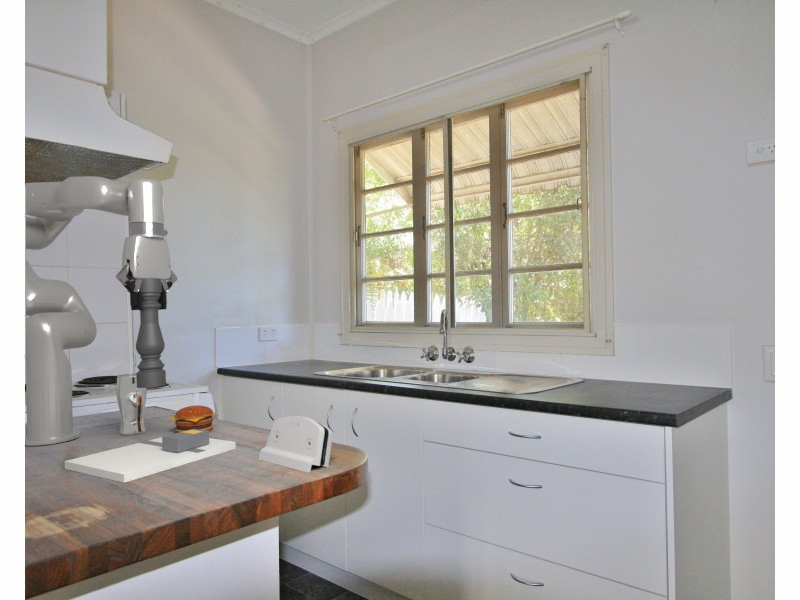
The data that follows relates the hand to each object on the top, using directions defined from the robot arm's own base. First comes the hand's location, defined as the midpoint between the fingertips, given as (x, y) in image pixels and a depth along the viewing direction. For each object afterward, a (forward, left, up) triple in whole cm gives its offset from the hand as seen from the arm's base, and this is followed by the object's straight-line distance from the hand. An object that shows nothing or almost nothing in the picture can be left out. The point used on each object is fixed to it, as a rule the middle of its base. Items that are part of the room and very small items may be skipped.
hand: (149, 308), depth 126 cm
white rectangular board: (+11, -7, -32) cm, 34 cm away
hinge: (+40, +5, -32) cm, 52 cm away
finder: (+15, -2, -30) cm, 34 cm away
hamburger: (-3, +14, -32) cm, 35 cm away
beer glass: (-17, +6, -32) cm, 37 cm away
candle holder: (0, 0, -18) cm, 18 cm away
